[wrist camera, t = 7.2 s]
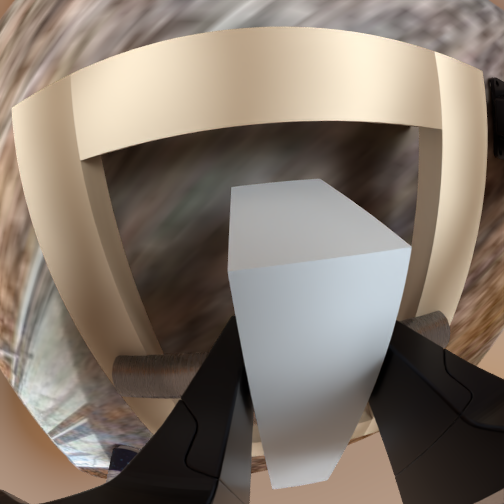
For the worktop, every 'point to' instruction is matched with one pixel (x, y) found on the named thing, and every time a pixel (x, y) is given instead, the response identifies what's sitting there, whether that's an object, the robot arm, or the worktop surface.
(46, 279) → the worktop surface
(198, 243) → the worktop surface
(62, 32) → the worktop surface
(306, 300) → the long white beam
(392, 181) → the worktop surface
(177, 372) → the rod
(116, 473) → the beverage can
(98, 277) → the shelf
